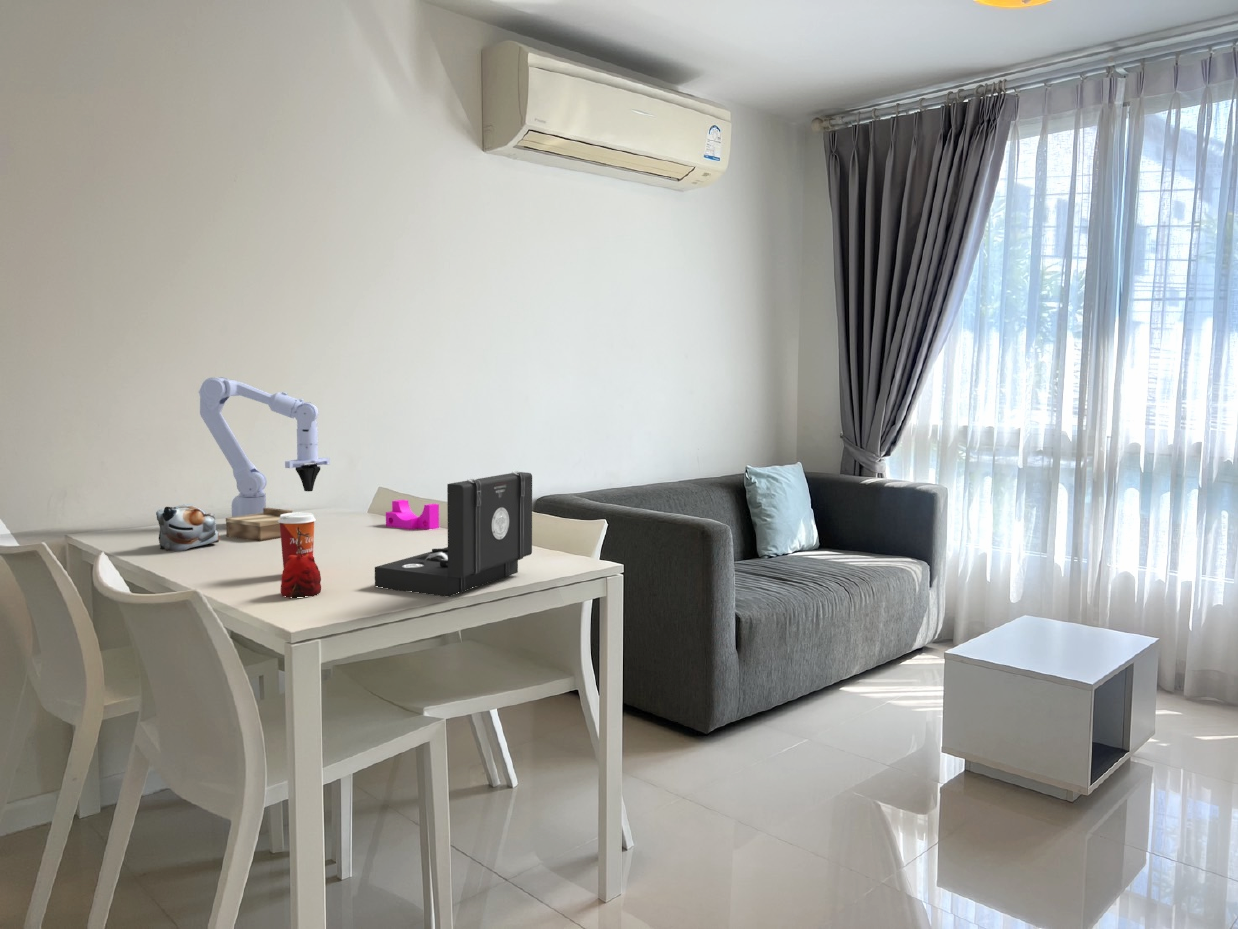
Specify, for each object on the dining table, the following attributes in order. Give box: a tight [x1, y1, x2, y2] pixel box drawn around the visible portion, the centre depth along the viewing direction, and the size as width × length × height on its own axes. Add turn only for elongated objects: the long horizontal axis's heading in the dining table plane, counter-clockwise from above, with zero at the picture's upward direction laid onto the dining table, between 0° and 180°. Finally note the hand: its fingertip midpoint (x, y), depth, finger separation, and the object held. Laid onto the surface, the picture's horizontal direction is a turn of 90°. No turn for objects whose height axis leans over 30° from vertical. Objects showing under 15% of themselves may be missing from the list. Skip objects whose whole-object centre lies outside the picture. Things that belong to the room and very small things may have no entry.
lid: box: [225, 507, 293, 527], centre depth 247 cm, size 14×12×3 cm
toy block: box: [385, 499, 440, 530], centre depth 263 cm, size 15×6×8 cm, turn 57°
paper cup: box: [278, 511, 317, 569], centre depth 197 cm, size 8×8×14 cm
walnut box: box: [225, 521, 281, 542], centre depth 247 cm, size 14×12×4 cm
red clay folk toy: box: [280, 526, 322, 598], centre depth 179 cm, size 8×7×15 cm
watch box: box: [374, 470, 533, 597], centre depth 193 cm, size 26×28×24 cm
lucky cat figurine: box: [155, 504, 220, 552], centre depth 228 cm, size 15×12×14 cm
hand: (308, 491), depth 266 cm, fingers closed
